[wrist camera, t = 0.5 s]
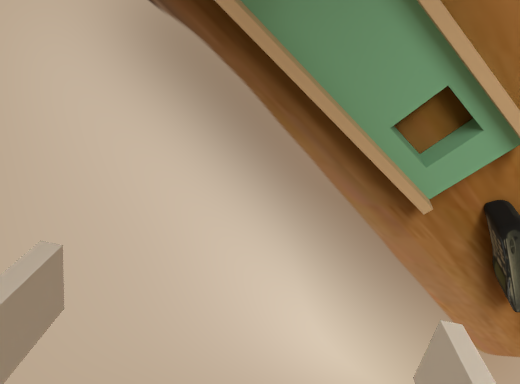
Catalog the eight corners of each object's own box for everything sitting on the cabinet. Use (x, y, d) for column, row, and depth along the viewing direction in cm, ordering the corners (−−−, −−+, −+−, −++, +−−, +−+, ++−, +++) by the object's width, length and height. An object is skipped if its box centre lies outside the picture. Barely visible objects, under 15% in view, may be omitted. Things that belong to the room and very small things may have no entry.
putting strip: (245, -257, 23) (235, -285, 20) (521, 122, 35) (543, 144, 32) (143, -93, 29) (122, -94, 25) (414, 190, 40) (423, 214, 37)
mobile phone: (495, 231, 37) (516, 329, 44) (531, 222, 36) (546, 323, 43) (477, 201, 41) (498, 294, 48) (508, 192, 40) (526, 289, 47)
